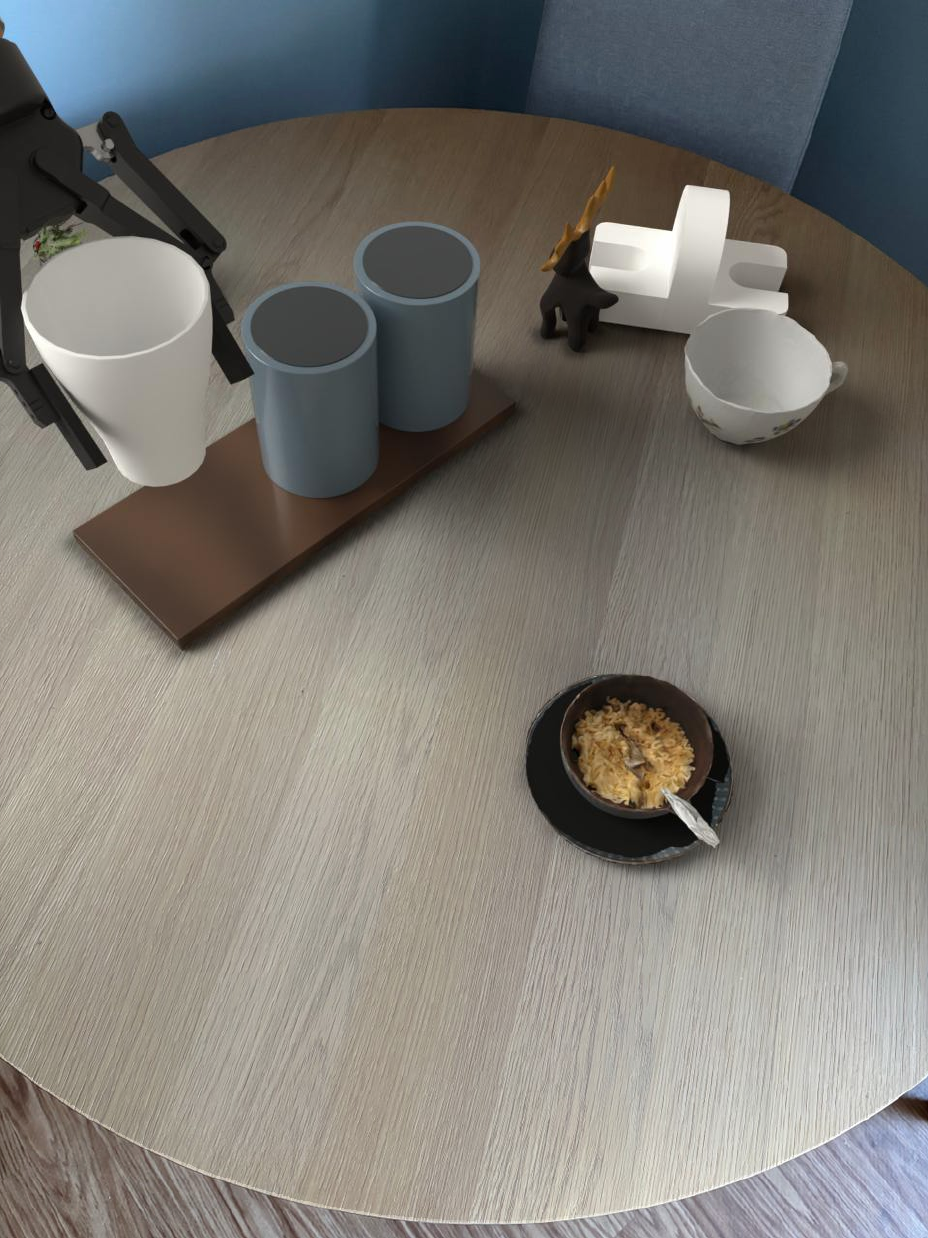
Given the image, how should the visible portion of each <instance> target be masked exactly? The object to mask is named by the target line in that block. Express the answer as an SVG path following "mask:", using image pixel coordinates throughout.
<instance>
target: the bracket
mask: <svg viewBox="0 0 928 1238" xmlns="http://www.w3.org/2000/svg"><path fill="white" fill-rule="evenodd" d="M730 206H731V197H730V192H729V190H727V189H719V188H712V187H706V186H699V185H691V184H686V185H685V186H684V189H683V191H682V194H681V197H680V200H679V204H678V208H677V211H676V215H675V219H674V223H673V227H672V230H665V229H659V228H651V227H644V226H637V225H630V224H623V223H616V222H609V221H608V222H607V221H605V222H604V221H603V222H601V223H598V224H597V225H596V226H595V230H594V236H593V241H592V247H591V252H590V257H589V265H588V270H589V272H590V273H591V275H592V277H593V278H594V280H595V281H596V283H597V284H598V285H599V287H600V288H602V289H604V290H605V291H607V292H609V293H612V294H615V295H617V296H618V298H619V301H618V302H617V303H616V304H615V305H613V306H611V307H609V308H607V309H600V312H599V322H605V323H611V324H612V323H613V324H618V325H619V324H620V325H625V326H632V327H639V328H645V329H653V330H661V331H667V332H673V333H681V334H689V335H691V333H692V331H693V329H694V328H695V327H697V326H698V325H699V324H701V323H702V322H703V321H705V320H706V319H707V318H708V317H709V316H710V315H713V314H716V313H718V312H720V311H722V310H728V309H733V308H757V309H765V310H770V311H774V312H776V313H777V314H778V315H783V316H786V315H787V312H788V311H789V293H786V292H780V288H781V286H782V283H783V280H784V277H785V275H786V272H787V270H788V255H787V254H788V253H787V252H786V251H785V250H784V249H783V248H782V247H780V246H777V245H772V244H766V243H765V244H764V243H757V242H751V241H743V240H738V239H737V240H736V239H729V238H726V237H727V230H728V224H729V216H730Z"/></svg>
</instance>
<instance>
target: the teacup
mask: <svg viewBox="0 0 928 1238" xmlns="http://www.w3.org/2000/svg"><path fill="white" fill-rule="evenodd" d="M689 335H690V336H689V337H688V338H687V341H686V344H685V346H684V385H685V390H686V394H687V398H688V400H689V404H690V405H691V407H692V409H693V411H694V414H696V415H695V416H697V418H698V419H699V420H700V422H701V423H702V424H703V425H704V426H705V427H706V428H707V429H708V431H709V432H710V434H712V435H714V436H715V437H716V438H718V439H719V440H720V441H723V442H729V443H732V444H733V445H739V446H741V445H742V446H743V445H747V444H756V443H762V442H763V443H764V442H767V441H772V440H774V439H776V438H778V437H780V436H783V435H785V434H787V433H788V432H790V431H791V430H793V429H794V428H796V427H797V426H799V425H800V424H801V423H803V422H804V421H805V420H806V419H807V418H808V417H809V416H810V415H811V414H812V413H813V412H814V410H815V409H816V408H817V407H818V405H819V404H820V403H821V401H822V400H823V398H824V397H825V396H826V395H827V394H829V393H832V392H833V391H835V390H836V389H837V388H839V387H840V386H841V385H843V383H844V382H845V379H846V377H847V375H848V372H849V368H848V367H849V366H848V364H846V363H845V362H844V361H832V360H831V358H830V354H829V353H828V351H827V348H826V347H825V346H824V345H823V344H822V343H821V342H820V341H819V340H818V339H817V338H816V335H815V334H812V333H811V332H810V331H808V330H807V329H806V328H804V327H803V326H801V325H800V323H798V322H797V321H796V320H794V319H793V318H791V317H789V316H786V315H785V316H783V315H778V314H777V313H776V312H774V311H770V310H765V309H757V308H733V309H728V310H722V311H720V312H718V313H716V314H713V315H710V316H709V317H708V318H707V319H706V320H705V321H703V322H702V323H701V324H699V325H698V326H697V327H695V328H694V329H693V331H692V333H691V334H689ZM832 374H837V375H836V377H835V379H834V380H833V381H832V382H831V379H832Z"/></svg>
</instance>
